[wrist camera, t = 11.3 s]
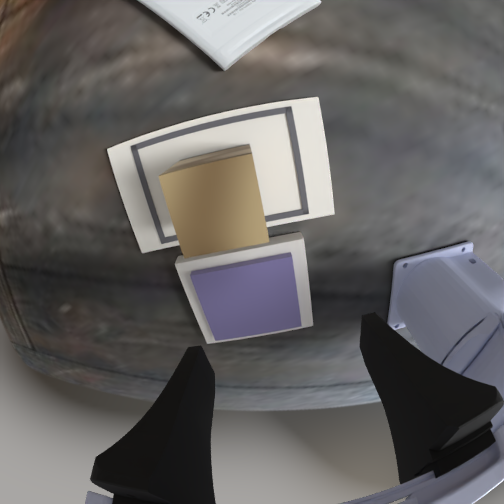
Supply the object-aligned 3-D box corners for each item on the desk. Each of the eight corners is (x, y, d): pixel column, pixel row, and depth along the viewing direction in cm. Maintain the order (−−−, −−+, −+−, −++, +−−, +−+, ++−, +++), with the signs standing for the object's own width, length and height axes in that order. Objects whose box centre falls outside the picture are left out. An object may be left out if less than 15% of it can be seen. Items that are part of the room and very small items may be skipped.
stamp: (249, 143, 16) (252, 153, 12) (262, 209, 18) (269, 242, 14) (180, 159, 16) (158, 176, 12) (198, 222, 18) (184, 258, 14)
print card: (316, 97, 15) (318, 96, 15) (332, 212, 19) (335, 214, 18) (109, 148, 16) (106, 149, 16) (143, 250, 20) (141, 253, 19)
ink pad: (300, 231, 19) (305, 242, 18) (310, 316, 23) (314, 330, 21) (178, 256, 20) (172, 268, 18) (208, 334, 24) (206, 348, 22)
